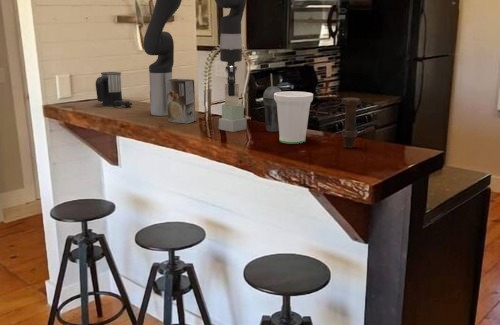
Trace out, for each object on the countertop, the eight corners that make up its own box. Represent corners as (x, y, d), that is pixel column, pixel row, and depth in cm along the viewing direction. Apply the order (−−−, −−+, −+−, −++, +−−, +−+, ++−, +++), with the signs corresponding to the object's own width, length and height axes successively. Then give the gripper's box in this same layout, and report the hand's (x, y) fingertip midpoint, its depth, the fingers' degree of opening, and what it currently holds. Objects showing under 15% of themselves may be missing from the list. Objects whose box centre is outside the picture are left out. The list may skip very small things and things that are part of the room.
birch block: (225, 103, 190) (225, 83, 188) (238, 103, 190) (238, 83, 188) (225, 105, 186) (224, 85, 184) (238, 105, 186) (238, 85, 184)
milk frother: (107, 103, 249) (105, 71, 245) (139, 104, 246) (138, 71, 242) (94, 108, 235) (92, 74, 231) (128, 108, 233) (126, 74, 229)
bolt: (353, 150, 159) (355, 100, 155) (337, 148, 162) (339, 99, 158) (360, 146, 164) (362, 98, 160) (344, 144, 167) (347, 96, 163)
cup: (319, 141, 171) (321, 93, 167) (294, 147, 163) (296, 97, 159) (290, 135, 180) (291, 90, 176) (265, 141, 171) (265, 93, 167)
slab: (218, 129, 190) (218, 118, 189) (232, 126, 195) (232, 116, 194) (232, 132, 185) (232, 121, 184) (246, 129, 190) (246, 118, 189)
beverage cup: (287, 130, 188) (288, 73, 183) (273, 133, 183) (274, 74, 178) (271, 127, 193) (272, 72, 188) (258, 130, 188) (258, 73, 182)
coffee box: (196, 121, 204) (195, 79, 200) (187, 124, 199) (185, 81, 195) (176, 119, 208) (175, 78, 204) (167, 121, 203) (165, 79, 199)
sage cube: (222, 118, 189) (221, 104, 188) (234, 116, 193) (234, 103, 192) (231, 120, 185) (231, 106, 184) (243, 118, 189) (243, 104, 187)
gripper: (220, 46, 189) (220, 91, 194) (220, 48, 176) (220, 97, 180) (241, 46, 190) (241, 91, 194) (242, 48, 176) (242, 97, 180)
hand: (231, 94), depth 187 cm, fingers open, 8 cm apart
